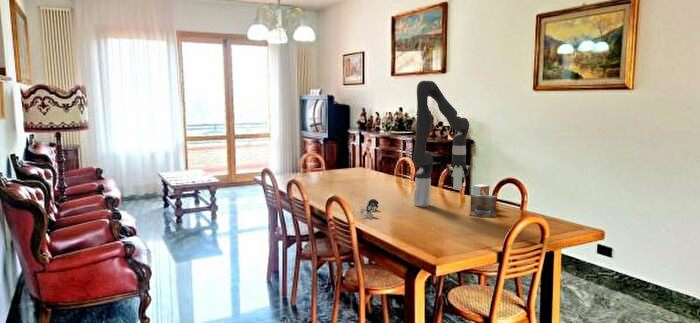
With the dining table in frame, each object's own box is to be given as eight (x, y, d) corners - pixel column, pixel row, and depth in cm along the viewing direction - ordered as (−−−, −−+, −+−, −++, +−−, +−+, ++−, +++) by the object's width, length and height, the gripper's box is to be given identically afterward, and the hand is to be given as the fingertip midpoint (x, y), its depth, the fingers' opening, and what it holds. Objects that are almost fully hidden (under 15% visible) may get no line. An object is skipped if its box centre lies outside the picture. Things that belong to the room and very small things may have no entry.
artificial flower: (381, 212, 280) (385, 196, 277) (369, 225, 259) (373, 209, 256) (367, 207, 282) (371, 191, 279) (354, 220, 262) (358, 204, 258)
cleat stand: (469, 215, 264) (469, 198, 263) (470, 211, 274) (470, 194, 273) (495, 217, 260) (496, 200, 258) (495, 213, 270) (496, 196, 269)
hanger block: (453, 188, 267) (453, 167, 265) (454, 187, 273) (454, 166, 271) (461, 189, 266) (462, 168, 264) (462, 187, 271) (462, 166, 270)
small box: (479, 208, 282) (480, 186, 280) (471, 206, 287) (472, 185, 285) (488, 206, 286) (489, 185, 284) (480, 204, 291) (481, 184, 290)
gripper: (445, 153, 265) (444, 183, 267) (471, 154, 261) (470, 185, 263) (446, 152, 272) (445, 181, 275) (472, 153, 268) (471, 182, 270)
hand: (457, 183), depth 269 cm, fingers closed on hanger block, 4 cm apart
